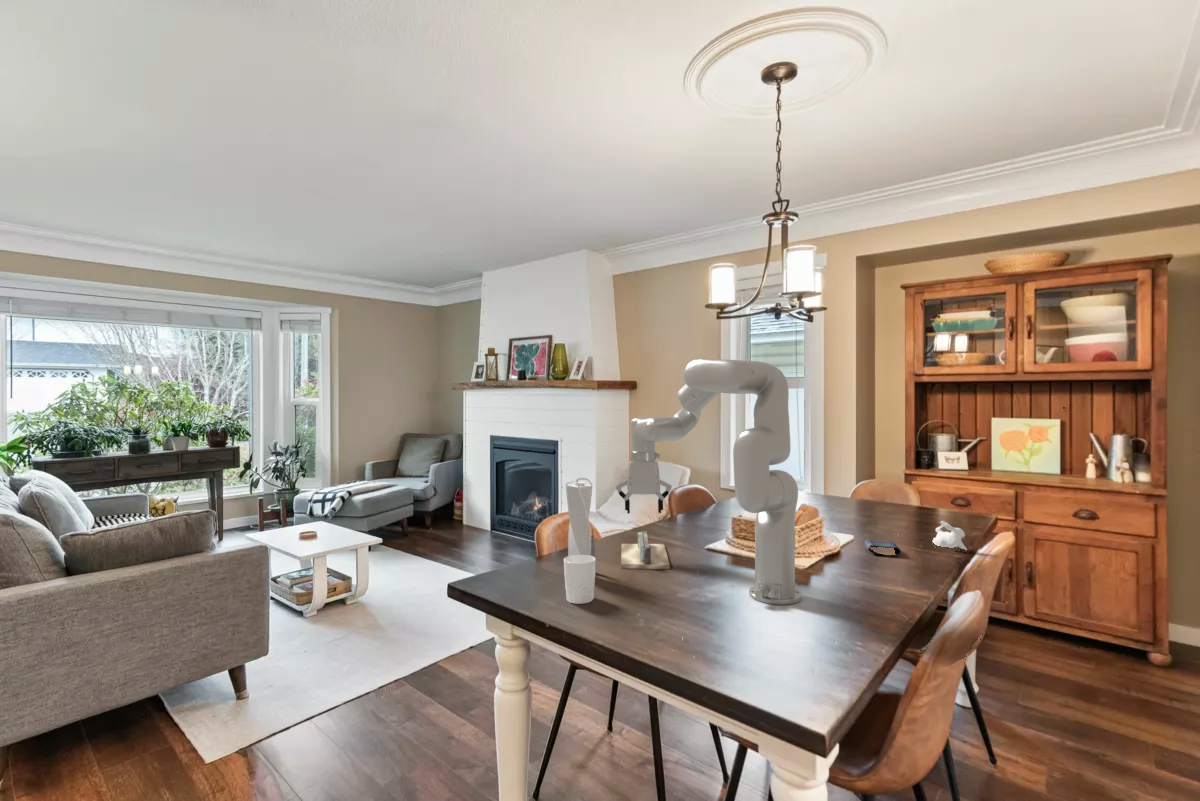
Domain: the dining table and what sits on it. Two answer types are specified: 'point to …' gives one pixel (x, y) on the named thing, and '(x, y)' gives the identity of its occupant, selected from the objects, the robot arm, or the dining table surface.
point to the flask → (882, 544)
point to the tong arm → (641, 546)
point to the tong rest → (652, 556)
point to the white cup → (579, 578)
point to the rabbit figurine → (949, 536)
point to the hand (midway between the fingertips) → (644, 512)
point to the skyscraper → (580, 519)
